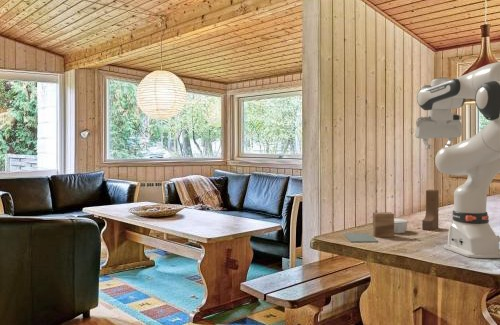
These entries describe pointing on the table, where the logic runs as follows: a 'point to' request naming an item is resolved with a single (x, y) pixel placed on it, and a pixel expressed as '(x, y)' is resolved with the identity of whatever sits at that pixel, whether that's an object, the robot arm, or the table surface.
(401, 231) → the ramekin
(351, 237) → the rubber mat
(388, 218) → the walnut block
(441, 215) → the table surface
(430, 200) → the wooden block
